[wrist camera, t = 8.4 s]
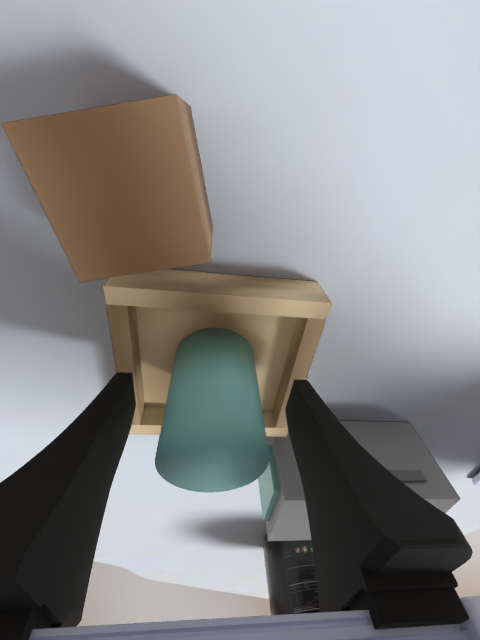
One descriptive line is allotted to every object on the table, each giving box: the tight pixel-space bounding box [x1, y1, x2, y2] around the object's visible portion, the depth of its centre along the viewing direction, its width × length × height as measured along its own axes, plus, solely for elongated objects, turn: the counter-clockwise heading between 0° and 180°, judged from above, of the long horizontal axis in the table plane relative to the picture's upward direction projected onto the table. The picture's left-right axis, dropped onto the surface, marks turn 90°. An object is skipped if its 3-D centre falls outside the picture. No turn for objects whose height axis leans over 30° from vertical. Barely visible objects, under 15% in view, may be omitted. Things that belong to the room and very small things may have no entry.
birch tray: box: [103, 269, 331, 437], centre depth 15 cm, size 9×9×2 cm
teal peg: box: [155, 328, 269, 492], centre depth 12 cm, size 4×4×6 cm
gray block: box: [258, 421, 460, 541], centre depth 19 cm, size 10×5×5 cm, turn 83°
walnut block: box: [1, 94, 213, 282], centre depth 9 cm, size 4×4×4 cm
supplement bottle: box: [263, 537, 320, 615], centre depth 25 cm, size 7×7×12 cm
